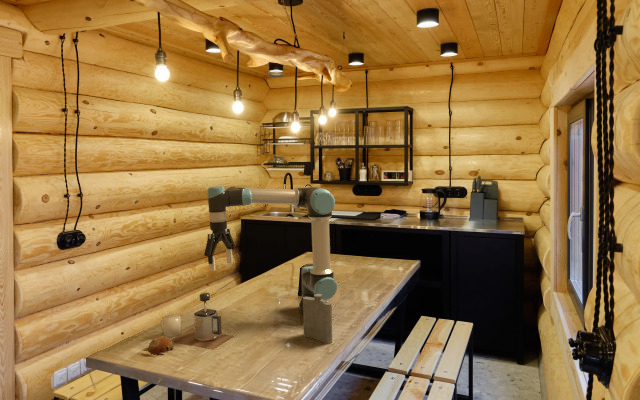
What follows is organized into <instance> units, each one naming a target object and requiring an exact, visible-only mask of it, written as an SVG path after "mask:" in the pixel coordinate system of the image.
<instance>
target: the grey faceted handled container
mask: <svg viewBox="0 0 640 400" xmlns="http://www.w3.org/2000/svg"><path fill="white" fill-rule="evenodd" d="M206 309H207V313H204V308H202V309H200V310H198V311H195V312H194V313H193V319H194V320H193V321H194V329H195V339H196V340H197V341H211V340H214V339H216V338H217V337H218V335H220V334H223V333H222V331H223V330H222V316H221V315H218V312H217V309H213V308H206Z"/></svg>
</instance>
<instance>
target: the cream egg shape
mask: <svg viewBox="0 0 640 400" xmlns="http://www.w3.org/2000/svg"><path fill="white" fill-rule="evenodd" d="M160 321H161V322H160V324H161V325H160V327H161V331H162V336H166V337H168V338H175V337H177V336H179V335H181V334H182V318H181V315H180V314H166V315H164V316H163V317H162V319H161V320H160Z"/></svg>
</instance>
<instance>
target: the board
mask: <svg viewBox="0 0 640 400" xmlns="http://www.w3.org/2000/svg"><path fill="white" fill-rule="evenodd" d="M234 337H235V335H231V334H226V333H222V334H220V335H218V337H217V338H216V339H214V340H211V341H197V340H196V339H195V328H193V327H192V328H191V329H188V330H187V331H184V332H181V334H180V335H179V336H176V337H172V339H171V338H170V339H171V340H172V342H173V343H176V344H177V343H178V344H181V345H187V346H193V347H197V348H202V349H207V350H212V351H214V349H217V348H218V347H221V345H223V344H224V343H226V342H228V341H229V340H231V339H232V338H234Z"/></svg>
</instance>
